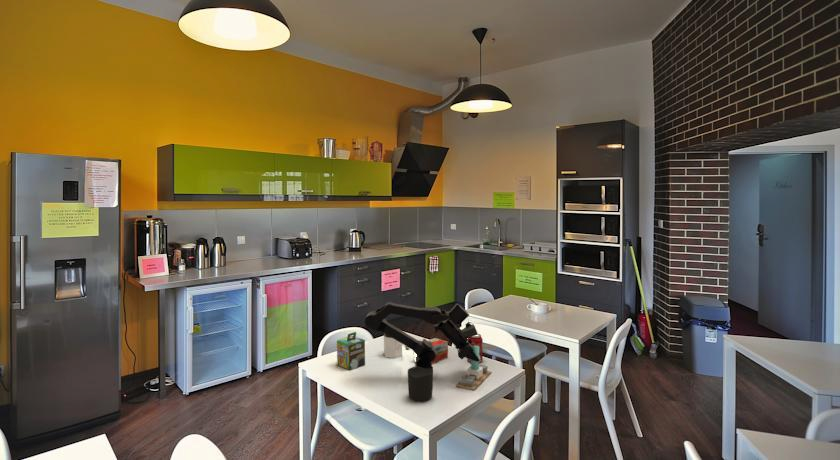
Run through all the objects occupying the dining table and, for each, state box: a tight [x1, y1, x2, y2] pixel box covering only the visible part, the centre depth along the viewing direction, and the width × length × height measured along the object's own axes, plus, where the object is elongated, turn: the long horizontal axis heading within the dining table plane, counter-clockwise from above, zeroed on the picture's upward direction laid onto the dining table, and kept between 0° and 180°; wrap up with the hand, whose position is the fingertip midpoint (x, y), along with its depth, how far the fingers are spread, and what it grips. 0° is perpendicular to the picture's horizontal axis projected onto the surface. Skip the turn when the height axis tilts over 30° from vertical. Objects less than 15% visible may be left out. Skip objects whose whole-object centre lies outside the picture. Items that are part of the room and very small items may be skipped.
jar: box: [383, 327, 403, 359], centre depth 210 cm, size 9×8×12 cm
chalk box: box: [336, 331, 366, 371], centre depth 197 cm, size 9×9×15 cm
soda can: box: [466, 333, 484, 364], centre depth 202 cm, size 7×7×12 cm
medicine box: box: [427, 337, 449, 365], centre depth 204 cm, size 15×8×8 cm, turn 137°
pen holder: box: [407, 366, 434, 403], centre depth 165 cm, size 9×9×10 cm
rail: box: [454, 363, 493, 391], centre depth 181 cm, size 20×8×3 cm, turn 152°
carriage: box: [466, 346, 483, 380], centre depth 182 cm, size 5×5×12 cm
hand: (478, 359), depth 182 cm, fingers closed on carriage, 3 cm apart
